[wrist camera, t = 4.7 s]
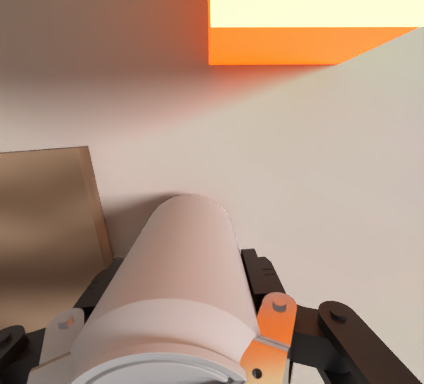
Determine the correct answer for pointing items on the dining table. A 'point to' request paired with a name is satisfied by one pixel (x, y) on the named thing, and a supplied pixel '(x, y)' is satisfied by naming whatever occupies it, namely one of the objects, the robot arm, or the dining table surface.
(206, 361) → the beverage can
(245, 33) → the orange juice
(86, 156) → the walnut board
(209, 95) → the dining table surface
